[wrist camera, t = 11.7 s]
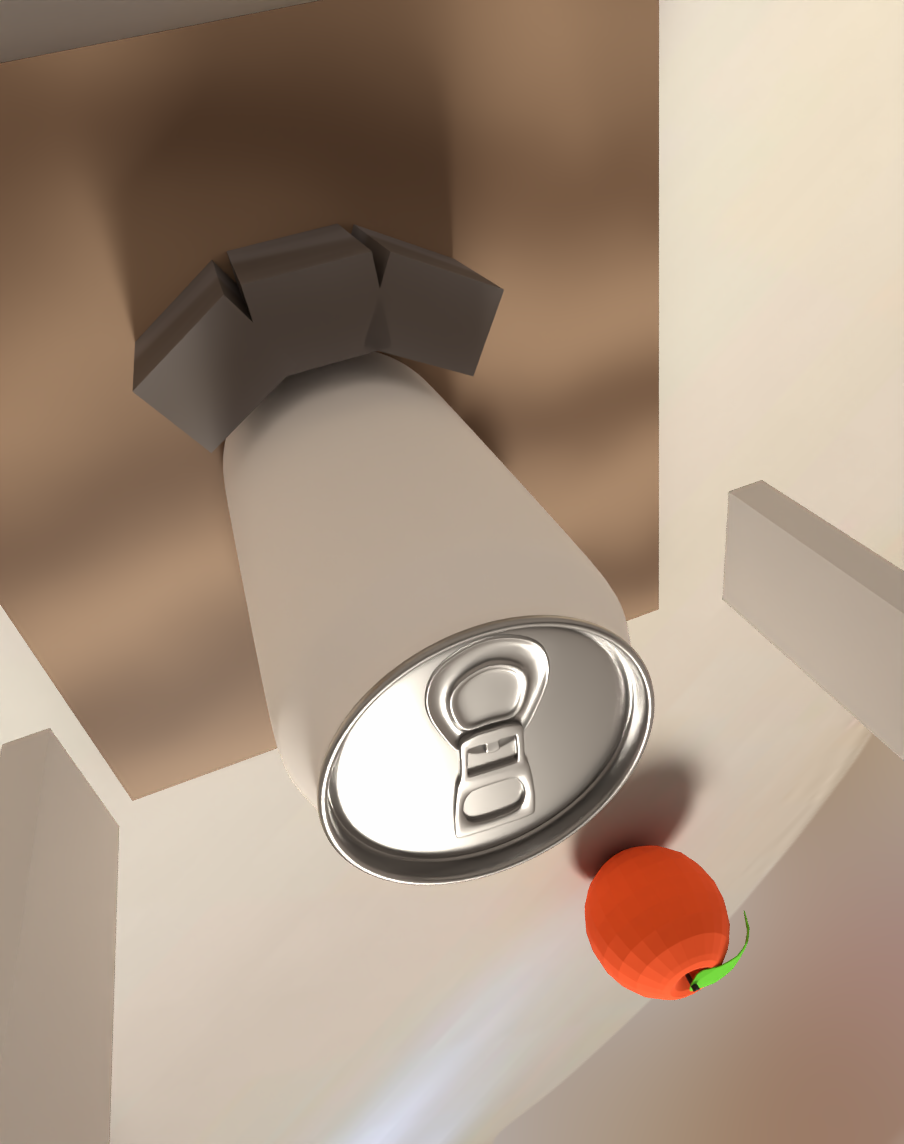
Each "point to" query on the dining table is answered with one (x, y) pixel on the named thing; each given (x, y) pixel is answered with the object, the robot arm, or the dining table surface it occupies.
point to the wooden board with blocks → (308, 310)
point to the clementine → (658, 923)
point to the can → (424, 630)
